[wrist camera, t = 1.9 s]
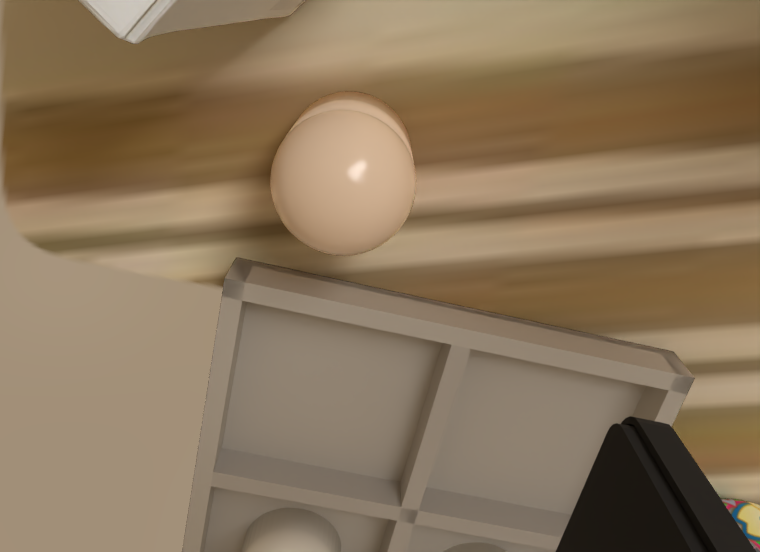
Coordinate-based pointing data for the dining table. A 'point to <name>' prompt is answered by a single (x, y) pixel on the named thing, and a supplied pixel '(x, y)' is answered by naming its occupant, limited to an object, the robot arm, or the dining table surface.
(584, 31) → the dining table surface
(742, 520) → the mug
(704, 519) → the robot arm
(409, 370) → the carton
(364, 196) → the egg
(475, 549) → the egg
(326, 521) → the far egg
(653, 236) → the dining table surface
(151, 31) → the skincare box
